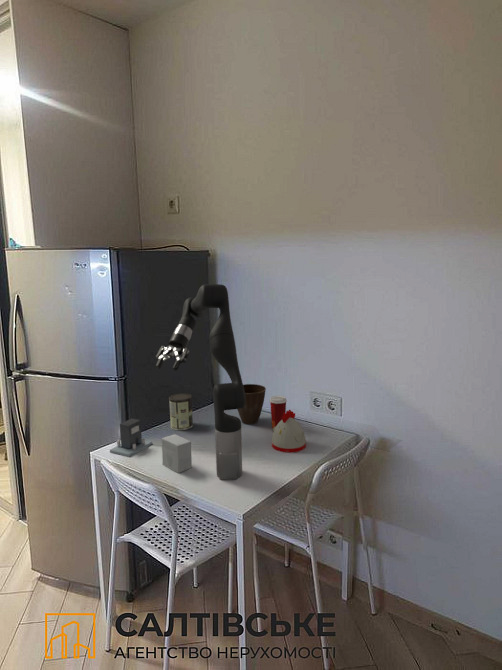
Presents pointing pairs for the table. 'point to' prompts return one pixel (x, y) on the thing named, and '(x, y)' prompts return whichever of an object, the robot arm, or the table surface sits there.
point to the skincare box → (176, 453)
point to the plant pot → (252, 403)
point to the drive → (130, 433)
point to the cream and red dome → (288, 434)
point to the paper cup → (277, 409)
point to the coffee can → (181, 411)
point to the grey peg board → (135, 449)
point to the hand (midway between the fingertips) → (165, 369)
